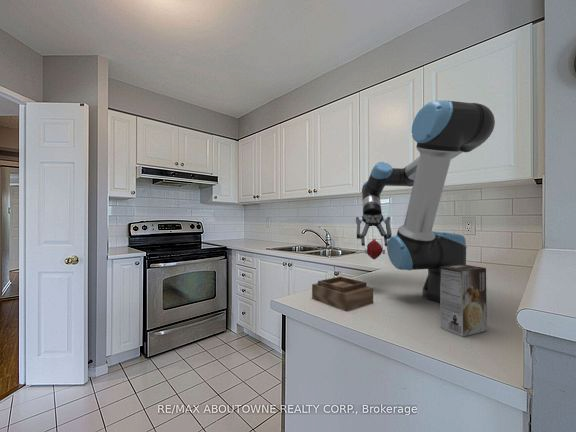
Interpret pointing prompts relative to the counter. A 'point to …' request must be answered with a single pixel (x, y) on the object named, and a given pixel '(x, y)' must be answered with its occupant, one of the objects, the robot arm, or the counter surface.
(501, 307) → the counter surface
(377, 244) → the onion
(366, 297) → the stand
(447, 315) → the coffee box
